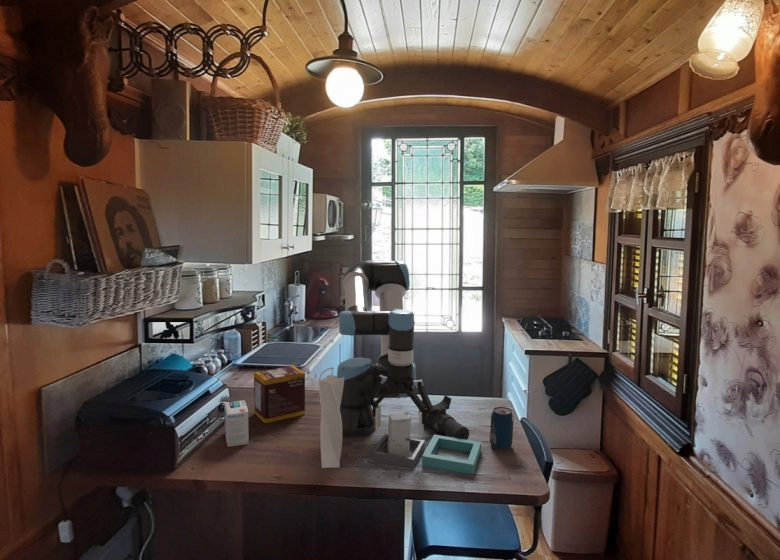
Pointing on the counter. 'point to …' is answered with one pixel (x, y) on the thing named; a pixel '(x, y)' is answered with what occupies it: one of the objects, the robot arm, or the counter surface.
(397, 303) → the robot arm
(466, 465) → the teal square frame
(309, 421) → the counter surface
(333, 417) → the skyscraper
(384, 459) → the gray picture frame
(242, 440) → the light bulb box
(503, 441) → the soda can
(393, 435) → the skincare box
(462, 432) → the laser sight
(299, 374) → the supplement box
